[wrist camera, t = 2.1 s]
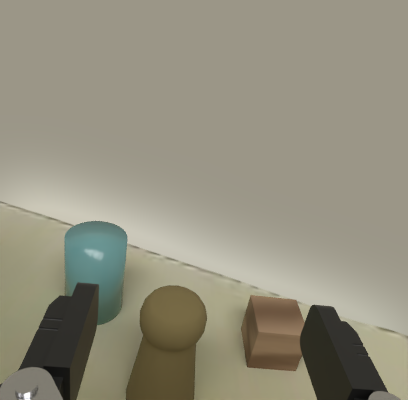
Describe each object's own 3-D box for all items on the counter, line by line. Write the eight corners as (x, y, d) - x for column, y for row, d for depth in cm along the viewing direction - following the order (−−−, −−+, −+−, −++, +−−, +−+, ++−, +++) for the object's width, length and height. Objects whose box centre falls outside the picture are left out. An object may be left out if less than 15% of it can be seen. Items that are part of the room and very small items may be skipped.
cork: (145, 355, 37) (157, 265, 32) (202, 379, 35) (224, 289, 30) (112, 409, 31) (120, 311, 26) (178, 439, 30) (200, 343, 25)
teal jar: (73, 332, 38) (74, 260, 34) (59, 294, 42) (57, 226, 38) (129, 315, 41) (136, 248, 37) (110, 281, 45) (114, 217, 41)
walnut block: (295, 371, 38) (309, 336, 36) (247, 367, 37) (258, 331, 35) (284, 333, 42) (296, 299, 40) (240, 329, 42) (250, 295, 40)
